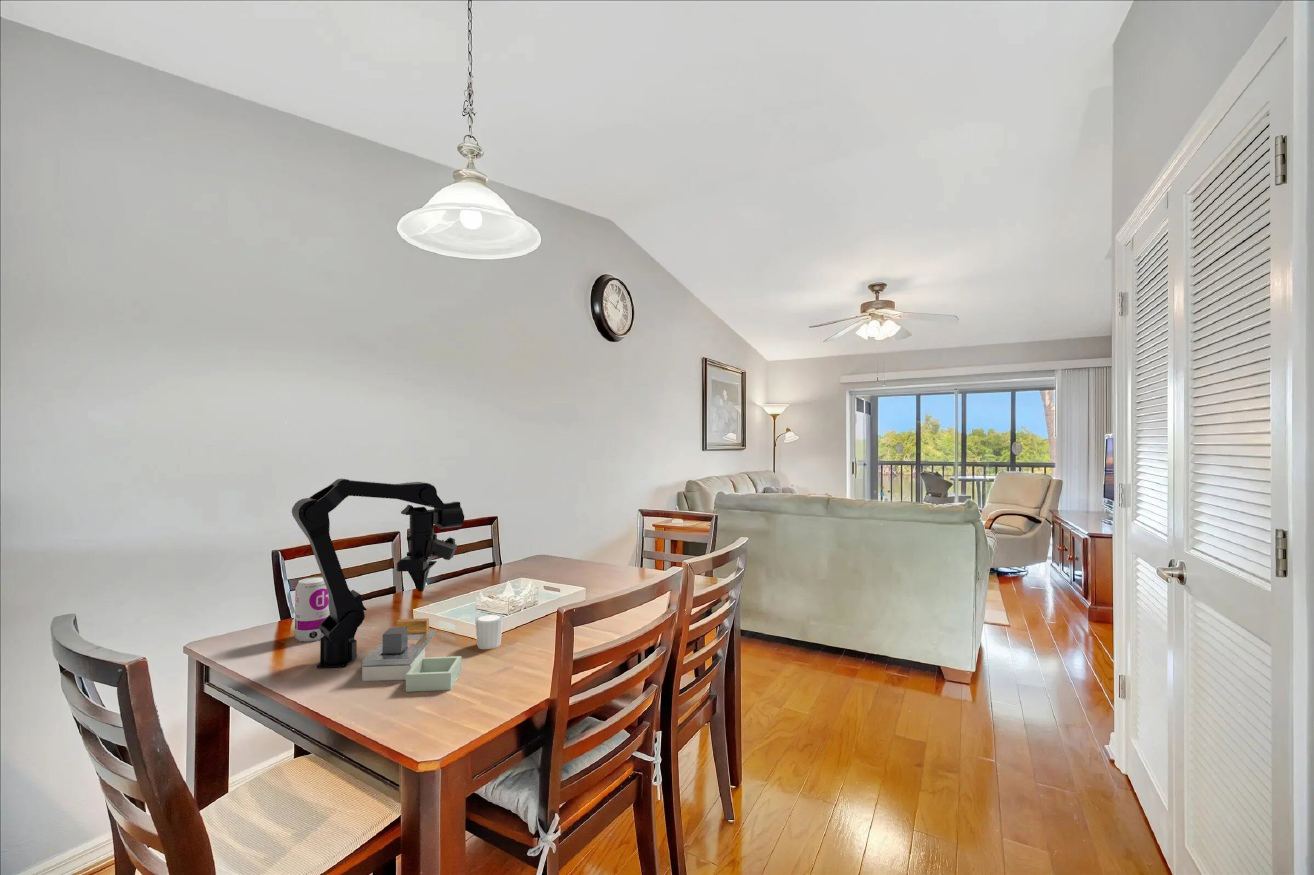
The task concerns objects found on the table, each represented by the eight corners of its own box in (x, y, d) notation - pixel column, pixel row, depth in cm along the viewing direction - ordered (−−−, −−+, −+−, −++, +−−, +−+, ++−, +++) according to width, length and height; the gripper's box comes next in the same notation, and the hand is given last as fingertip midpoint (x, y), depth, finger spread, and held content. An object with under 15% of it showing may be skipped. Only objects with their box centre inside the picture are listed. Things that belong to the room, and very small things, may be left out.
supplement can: (337, 635, 146) (338, 578, 146) (304, 645, 139) (305, 585, 139) (322, 629, 150) (322, 574, 151) (288, 638, 144) (289, 581, 144)
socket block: (380, 662, 128) (380, 649, 128) (424, 660, 130) (425, 648, 130) (362, 681, 119) (362, 667, 119) (410, 679, 120) (410, 665, 120)
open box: (405, 691, 114) (405, 674, 114) (419, 673, 123) (419, 657, 123) (450, 689, 115) (450, 673, 115) (461, 671, 124) (461, 656, 124)
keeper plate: (393, 636, 136) (393, 619, 136) (435, 634, 138) (435, 618, 138) (362, 665, 119) (362, 646, 119) (410, 664, 120) (410, 644, 120)
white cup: (494, 651, 136) (495, 622, 136) (469, 649, 137) (469, 620, 137) (507, 641, 143) (508, 614, 143) (483, 639, 144) (483, 612, 144)
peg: (377, 676, 121) (378, 635, 121) (387, 666, 126) (387, 627, 126) (403, 675, 122) (403, 634, 122) (411, 665, 127) (411, 626, 127)
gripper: (443, 536, 134) (443, 600, 134) (462, 524, 152) (462, 581, 152) (396, 537, 132) (395, 602, 132) (420, 525, 151) (420, 582, 151)
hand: (421, 591), depth 142 cm, fingers closed
